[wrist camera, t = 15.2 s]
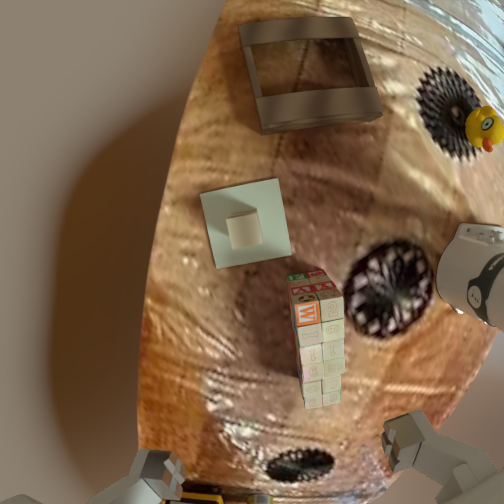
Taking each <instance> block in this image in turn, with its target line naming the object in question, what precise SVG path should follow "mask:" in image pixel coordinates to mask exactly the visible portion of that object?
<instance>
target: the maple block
mask: <svg viewBox="0 0 504 504" xmlns="http://www.w3.org/2000/svg"><path fill="white" fill-rule="evenodd" d="M226 222H227V227H228V231H229V236H230V241H231V245H232V250H233V249H238V248H243V247H248V246H254V245H259V244H263V239H262V231H261V226H260V221H259V216H258V211H257V209H254V210H249V211H244V212H239V213H234V214H231V215H230V216H229V217H228V218H227V219H226Z"/></svg>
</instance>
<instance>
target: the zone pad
mask: <svg viewBox="0 0 504 504" xmlns="http://www.w3.org/2000/svg"><path fill="white" fill-rule="evenodd" d="M200 197H201V202H202V207H203V211H204V216H205V220H206V225H207V229H208V234H209V238H210V243H211V247H212V251H213V255H214V260H215V264H216V268H217V269H220V268H225V267H231V266H236V265H241V264H247V263H252V262H257V261H263V260H268V259H273V258H279V257H284V256H289V255H292V252H291V246H290V241H289V235H288V229H287V224H286V218H285V213H284V207H283V202H282V197H281V192H280V187H279V181H278V178H276V179H270V180H265V181H260V182H254V183H249V184H244V185H239V186H235V187H230V188H225V189H220V190H216V191H211V192H207V193H203V194H200ZM254 209H257V211H258V216H259V221H260V226H261V231H262V239H263V244H259V245H254V246H248V247H243V248H238V249H233V250H232V245H231V241H230V236H229V231H228V227H227V222H226V219H227V218H228V217H229V216H230V215H231V214H234V213H239V212H244V211H249V210H254Z"/></svg>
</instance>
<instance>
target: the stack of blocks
mask: <svg viewBox="0 0 504 504" xmlns="http://www.w3.org/2000/svg"><path fill="white" fill-rule="evenodd" d="M287 283H288V291H289V293H288V295H289V303H290V312H291V321H292V327H293V331H294V340H295V346H296V362H297V369H298V377H299V382H300V388H301V393H302V398H303V400H304V405H305V409H312V408H317V407H322V406H326V405H331V404H336V403H340V402H341V397H340V395H341V393H340V390H341V377H340V376H341V374H343V373H345V357H344V319H343V317H344V303H343V296H342V294H341V293H340V292H339V291H338V289H337V287H336V286H335V284H334V283H333V282H332V281H331V280H330V278H329V277H328V276H327V274H326V273H325V271H324V270H317V271H311V272H305V273H300V274H294V275H287Z"/></svg>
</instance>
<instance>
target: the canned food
mask: <svg viewBox="0 0 504 504" xmlns="http://www.w3.org/2000/svg"><path fill="white" fill-rule="evenodd" d="M247 504H273V498H272V496H270V495H267V494H254V495H250V496H249V497H248V498H247Z"/></svg>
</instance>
